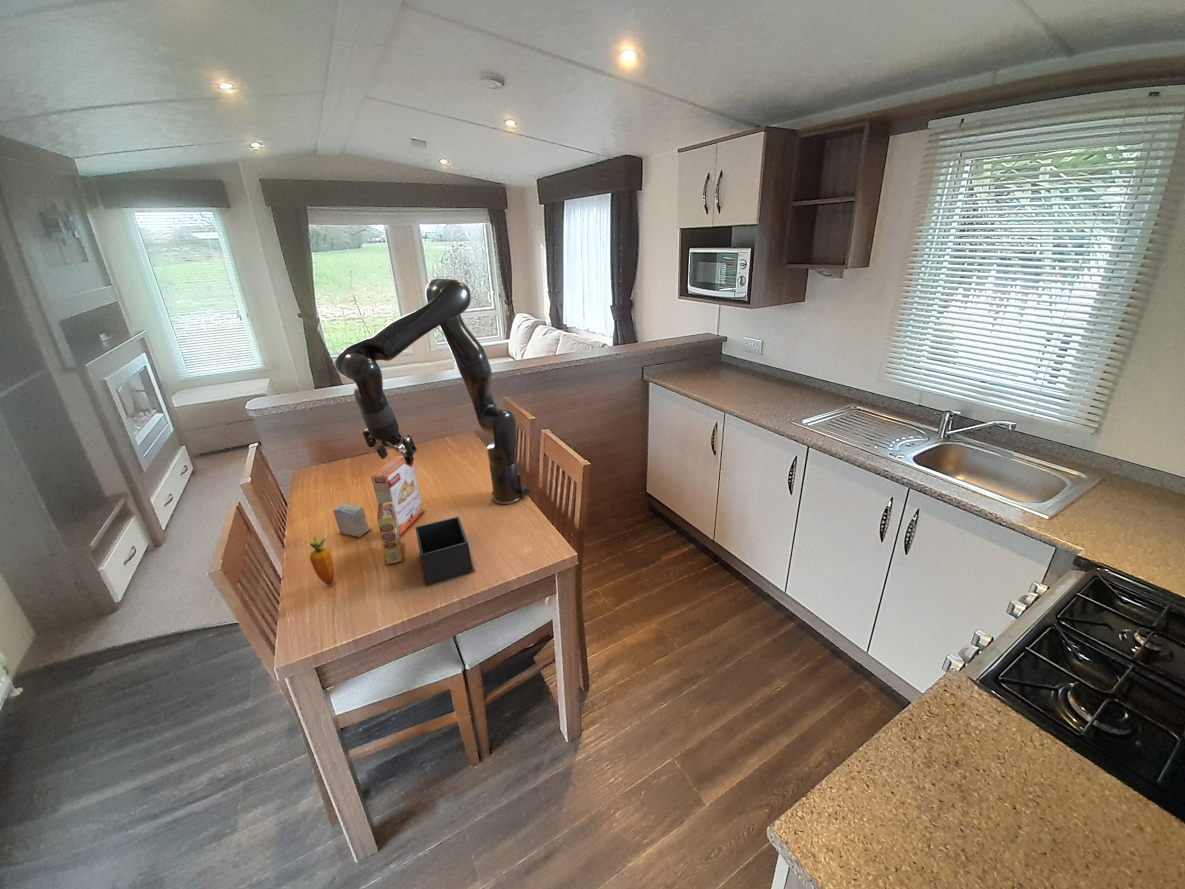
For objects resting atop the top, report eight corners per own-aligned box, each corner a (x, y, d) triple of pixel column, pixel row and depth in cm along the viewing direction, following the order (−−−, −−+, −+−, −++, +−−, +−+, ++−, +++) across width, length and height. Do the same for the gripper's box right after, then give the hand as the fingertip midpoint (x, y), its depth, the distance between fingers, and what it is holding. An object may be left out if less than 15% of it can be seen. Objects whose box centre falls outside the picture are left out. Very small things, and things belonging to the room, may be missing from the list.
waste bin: (463, 543, 143) (458, 516, 139) (473, 571, 131) (468, 542, 127) (421, 555, 139) (415, 527, 135) (427, 585, 127) (420, 555, 123)
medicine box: (370, 529, 151) (363, 506, 147) (359, 538, 147) (352, 514, 144) (350, 525, 154) (343, 502, 150) (339, 533, 150) (332, 510, 146)
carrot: (324, 579, 130) (309, 534, 124) (343, 577, 131) (328, 532, 124) (316, 591, 126) (300, 545, 120) (336, 590, 126) (320, 544, 120)
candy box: (403, 561, 136) (392, 516, 130) (387, 565, 135) (375, 520, 129) (403, 543, 144) (392, 500, 137) (388, 547, 143) (376, 503, 136)
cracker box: (401, 536, 147) (387, 477, 139) (384, 534, 149) (369, 475, 140) (424, 511, 160) (413, 456, 151) (408, 510, 161) (395, 454, 152)
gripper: (410, 413, 128) (425, 455, 139) (364, 404, 130) (383, 446, 142) (395, 432, 123) (412, 474, 134) (347, 422, 125) (368, 463, 137)
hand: (397, 459), depth 138 cm, fingers open, 8 cm apart
